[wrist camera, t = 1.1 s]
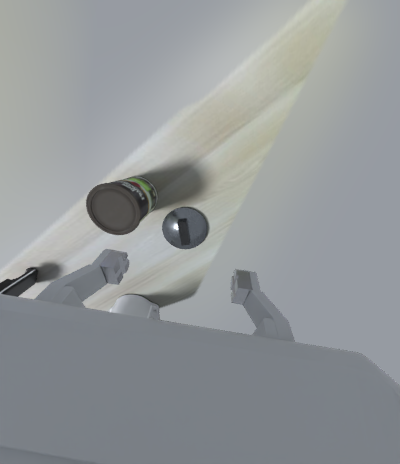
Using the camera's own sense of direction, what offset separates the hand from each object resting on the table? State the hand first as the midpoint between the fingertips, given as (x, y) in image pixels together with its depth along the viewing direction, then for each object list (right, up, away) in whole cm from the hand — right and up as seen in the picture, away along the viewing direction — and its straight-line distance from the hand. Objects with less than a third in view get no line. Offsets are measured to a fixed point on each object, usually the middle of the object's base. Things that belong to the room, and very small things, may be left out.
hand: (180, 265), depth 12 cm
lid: (-3, +4, +36) cm, 36 cm away
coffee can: (-15, +12, +32) cm, 38 cm away
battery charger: (-55, -12, +43) cm, 71 cm away
